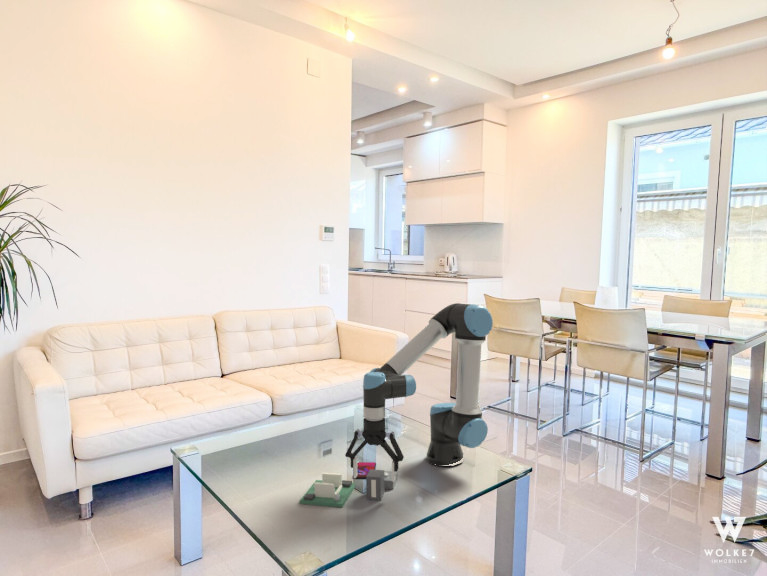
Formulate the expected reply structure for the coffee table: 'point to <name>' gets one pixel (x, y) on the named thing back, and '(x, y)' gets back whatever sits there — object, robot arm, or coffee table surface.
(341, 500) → the board
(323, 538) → the coffee table surface
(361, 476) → the smartphone
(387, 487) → the grey button box
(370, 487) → the plug
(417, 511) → the coffee table surface
